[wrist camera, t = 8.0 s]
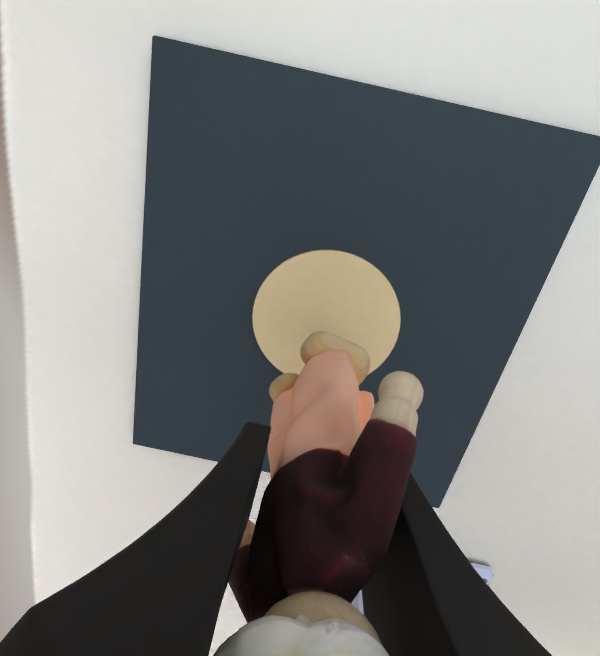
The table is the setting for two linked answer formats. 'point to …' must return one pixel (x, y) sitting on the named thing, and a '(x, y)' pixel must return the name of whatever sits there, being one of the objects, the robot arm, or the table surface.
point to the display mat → (336, 245)
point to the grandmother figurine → (324, 505)
